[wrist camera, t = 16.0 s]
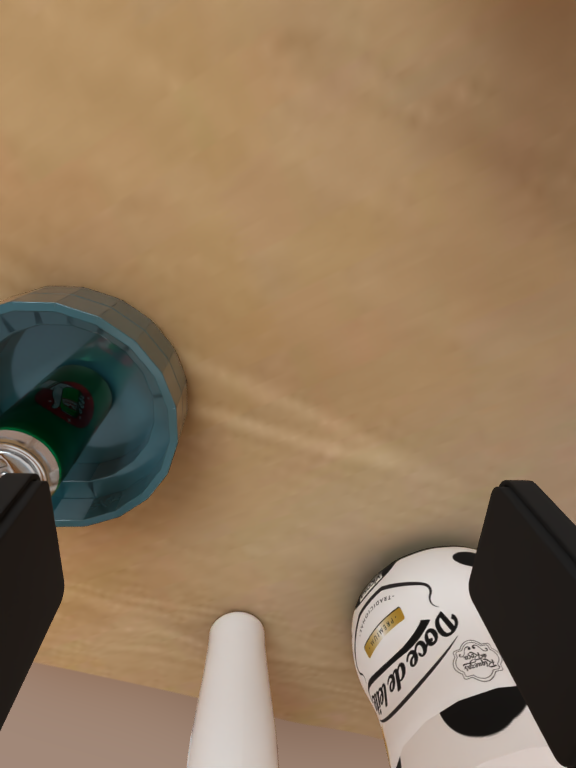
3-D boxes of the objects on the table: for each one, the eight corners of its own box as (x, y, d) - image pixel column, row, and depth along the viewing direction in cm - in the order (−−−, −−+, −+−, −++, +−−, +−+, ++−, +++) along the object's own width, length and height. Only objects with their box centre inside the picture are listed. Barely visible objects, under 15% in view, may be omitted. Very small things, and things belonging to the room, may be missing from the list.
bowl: (-52, 281, 33) (-113, 298, 28) (184, 288, 35) (171, 305, 29) (-9, 481, 39) (-53, 528, 33) (191, 480, 40) (181, 525, 35)
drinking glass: (248, 591, 45) (246, 767, 31) (284, 635, 47) (298, 816, 34) (188, 622, 46) (161, 807, 32) (227, 664, 48) (217, 852, 34)
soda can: (62, 430, 37) (-20, 529, 26) (33, 371, 35) (-67, 451, 24) (124, 414, 37) (69, 506, 26) (98, 354, 35) (28, 426, 24)
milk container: (339, 540, 44) (394, 752, 27) (524, 518, 44) (689, 713, 28) (347, 673, 50) (395, 912, 33) (508, 653, 51) (635, 877, 34)
